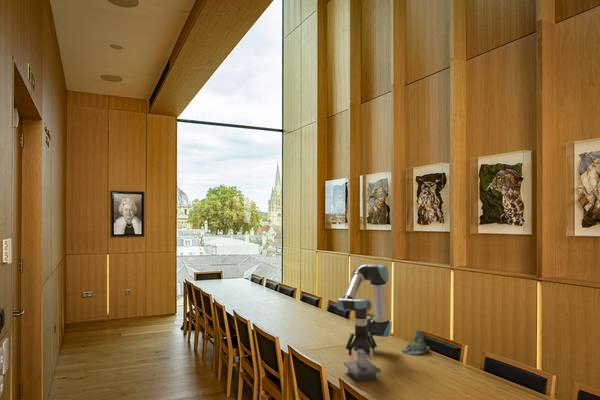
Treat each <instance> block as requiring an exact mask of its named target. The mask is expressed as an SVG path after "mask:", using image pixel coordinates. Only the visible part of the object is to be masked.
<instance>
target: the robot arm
mask: <svg viewBox="0 0 600 400" xmlns="http://www.w3.org/2000/svg"><path fill="white" fill-rule="evenodd" d="M350 275H351V276H350V278H351V279H350V281H349V284H348V286H347V288H346V290H345V292H344V295H343V297H339V298H338V299H337V301H336V309H337V310H339V311H346V312H347V311H348V312H354V333H352V332H351V333H350V334H349V335H350V336H349V338H348V341H347V343H346V346H345V349H346V350H348V356H349V361H354V353H353V352H354V350H355V351H357V350H364V351H365V352H366V353H367V352H369V359H371V360H374V354H375V349H376V348H377V346H378V344H377V342H376V340H375V339H374V337H379V338H380V337H382V338H383V337H384V338H388V337H389V336H390V335H391V331H392V325H393V323H392V320H390V318H389V316H388V315H387V303H386V301H387V300H386V290H385V289H386V287H385V286H386V285H387V282H388V281H389V279H390V277H389V275H390V274H389V270H388V267H387V266H386V265H384V264H373V263H372V264H370V263H369V264H368V263H364V264H361V265H359V266H358V267H356V268H355V269H354V270H353V271H352V273H351V274H350ZM364 281H370V285H371V286H372V295H373V296H372V297H373V303H372V301H371V300H370V299H368V298H357V299H356V296H357V294H358V292H359V289H360V288H361V285H362V283H364ZM372 308H373V309H374V316H373V317H371V316H368V312H369V311H371V309H372Z"/></svg>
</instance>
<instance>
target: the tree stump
mask: <svg viewBox="0 0 600 400" xmlns="http://www.w3.org/2000/svg"><path fill="white" fill-rule="evenodd" d="M424 336H425V335H424V331H423V330H421V329H417V328H416V329H415V330H414V336H413V339H412V340H411V341H410V343H408V344H406V345H405V346H404V348H402V349H401V353H403V354H405V355H409V356H422V355H424V354H426V353H427V352H428V351H429V350H430V346H428V345H426V342H425V340H424V339H425V338H424Z"/></svg>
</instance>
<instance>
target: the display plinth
mask: <svg viewBox="0 0 600 400" xmlns="http://www.w3.org/2000/svg"><path fill="white" fill-rule="evenodd" d="M343 365H344V366H345V367H346V368H347V373H348V374H349V375H350V377H351V376H352V378H354V379H355V380H356V382H363V381H372V380H377V374H378V373H379V374H381V372H382V369H380V368H379V367H378V366H376V365H375V364H373V362H371V361H370V360H368V359H367V368H360V367H359V365H358V364H357V360H353V361H351V360H349V361H343Z"/></svg>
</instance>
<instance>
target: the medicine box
mask: <svg viewBox="0 0 600 400" xmlns="http://www.w3.org/2000/svg"><path fill="white" fill-rule="evenodd" d="M367 360H368V353H367V352H365V351H364V350H356V361H357V364H358V365H359V367H360V368H367Z"/></svg>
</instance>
